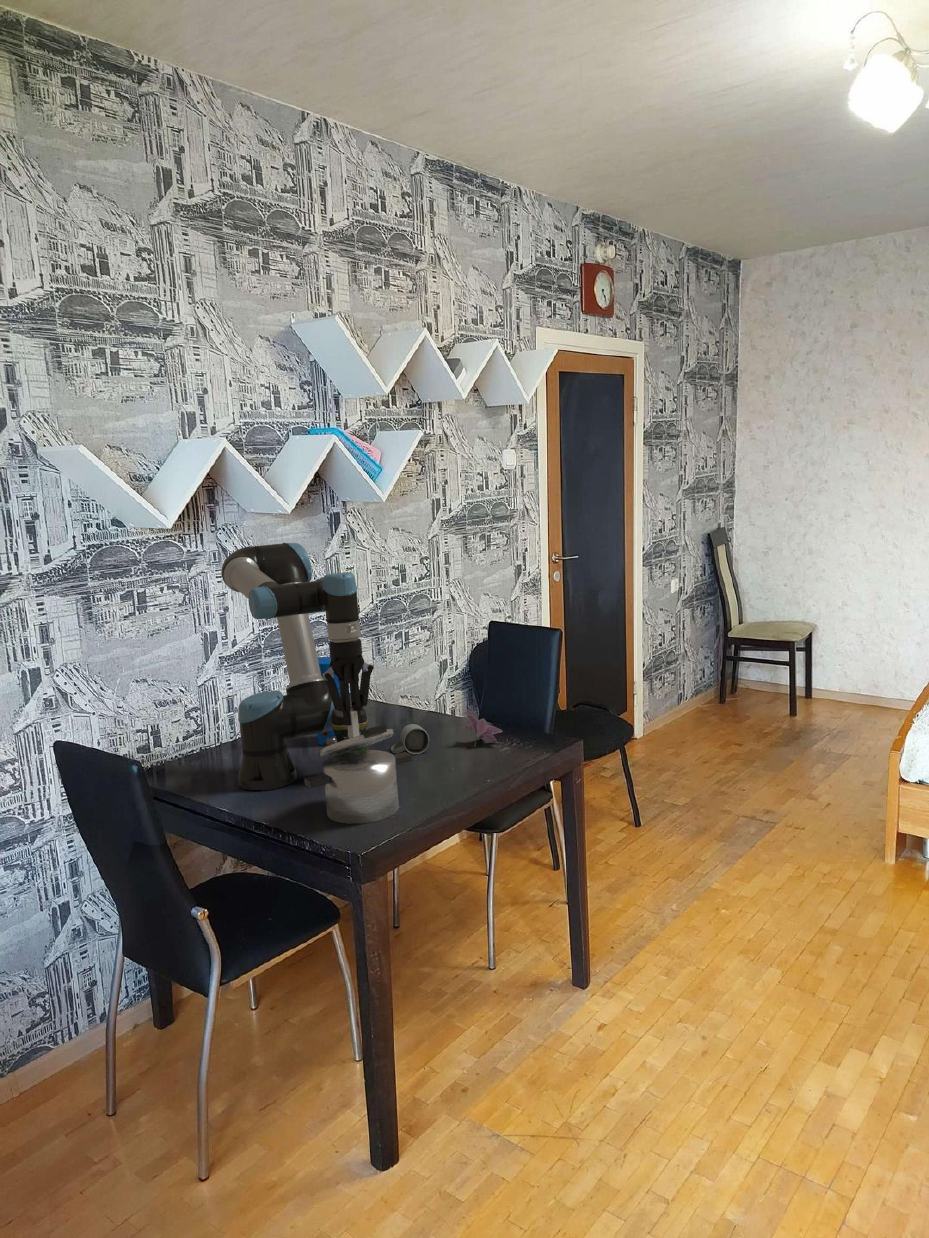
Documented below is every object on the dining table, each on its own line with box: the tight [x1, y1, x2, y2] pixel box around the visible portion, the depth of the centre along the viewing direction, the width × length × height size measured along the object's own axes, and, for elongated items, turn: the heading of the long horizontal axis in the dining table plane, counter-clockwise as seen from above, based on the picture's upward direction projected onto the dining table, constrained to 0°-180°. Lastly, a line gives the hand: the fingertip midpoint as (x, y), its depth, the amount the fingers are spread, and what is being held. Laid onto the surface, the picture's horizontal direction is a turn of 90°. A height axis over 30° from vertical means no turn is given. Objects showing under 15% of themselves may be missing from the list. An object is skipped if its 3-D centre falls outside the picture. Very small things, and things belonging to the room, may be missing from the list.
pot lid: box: [318, 724, 395, 758], centre depth 207 cm, size 22×18×3 cm
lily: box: [463, 712, 503, 748], centre depth 254 cm, size 12×12×10 cm
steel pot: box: [303, 749, 413, 825], centre depth 210 cm, size 19×27×12 cm
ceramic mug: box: [390, 723, 430, 755], centre depth 252 cm, size 11×8×8 cm
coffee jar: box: [331, 706, 369, 751], centre depth 233 cm, size 10×8×19 cm
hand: (354, 737), depth 208 cm, fingers closed
